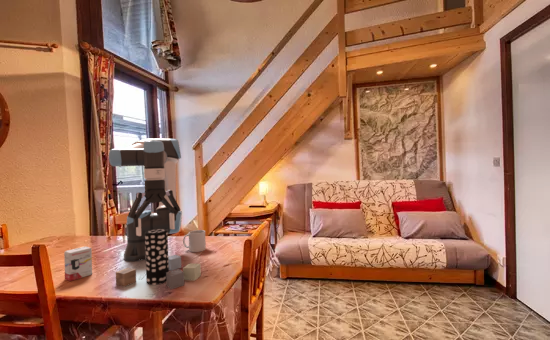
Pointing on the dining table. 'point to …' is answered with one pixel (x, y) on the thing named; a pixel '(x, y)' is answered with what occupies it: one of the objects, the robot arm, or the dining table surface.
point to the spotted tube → (156, 256)
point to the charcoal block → (175, 278)
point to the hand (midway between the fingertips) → (156, 232)
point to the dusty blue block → (174, 262)
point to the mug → (196, 241)
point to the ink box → (78, 263)
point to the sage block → (192, 271)
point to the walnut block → (125, 277)
